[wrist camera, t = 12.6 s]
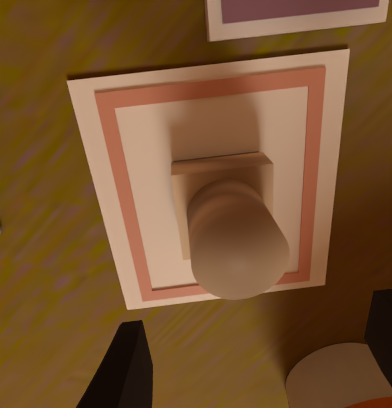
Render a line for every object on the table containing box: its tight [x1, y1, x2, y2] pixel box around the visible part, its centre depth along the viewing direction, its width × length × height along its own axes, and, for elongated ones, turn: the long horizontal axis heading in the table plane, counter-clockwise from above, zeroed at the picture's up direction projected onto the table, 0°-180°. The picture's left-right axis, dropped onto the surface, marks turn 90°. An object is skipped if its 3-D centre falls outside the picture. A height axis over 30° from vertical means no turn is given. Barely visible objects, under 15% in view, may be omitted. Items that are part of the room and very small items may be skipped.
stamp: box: [171, 151, 290, 300], centre depth 15 cm, size 5×5×6 cm
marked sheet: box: [67, 49, 350, 310], centre depth 19 cm, size 14×15×1 cm
